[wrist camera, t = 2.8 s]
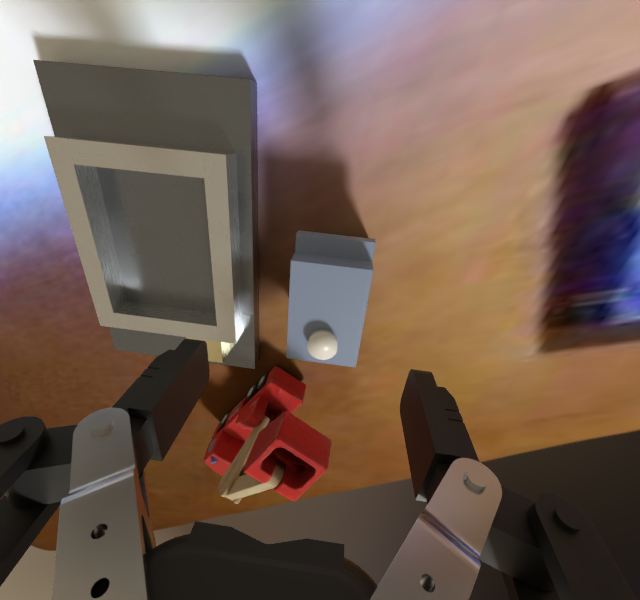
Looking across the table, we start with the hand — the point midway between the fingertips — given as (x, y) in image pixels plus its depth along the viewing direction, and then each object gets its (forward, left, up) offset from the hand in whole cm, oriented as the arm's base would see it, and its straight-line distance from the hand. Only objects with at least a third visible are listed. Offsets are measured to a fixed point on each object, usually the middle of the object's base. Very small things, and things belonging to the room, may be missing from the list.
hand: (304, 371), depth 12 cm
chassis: (+10, -1, -9) cm, 14 cm away
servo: (0, 0, -10) cm, 10 cm away
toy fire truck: (+4, +11, -10) cm, 15 cm away
